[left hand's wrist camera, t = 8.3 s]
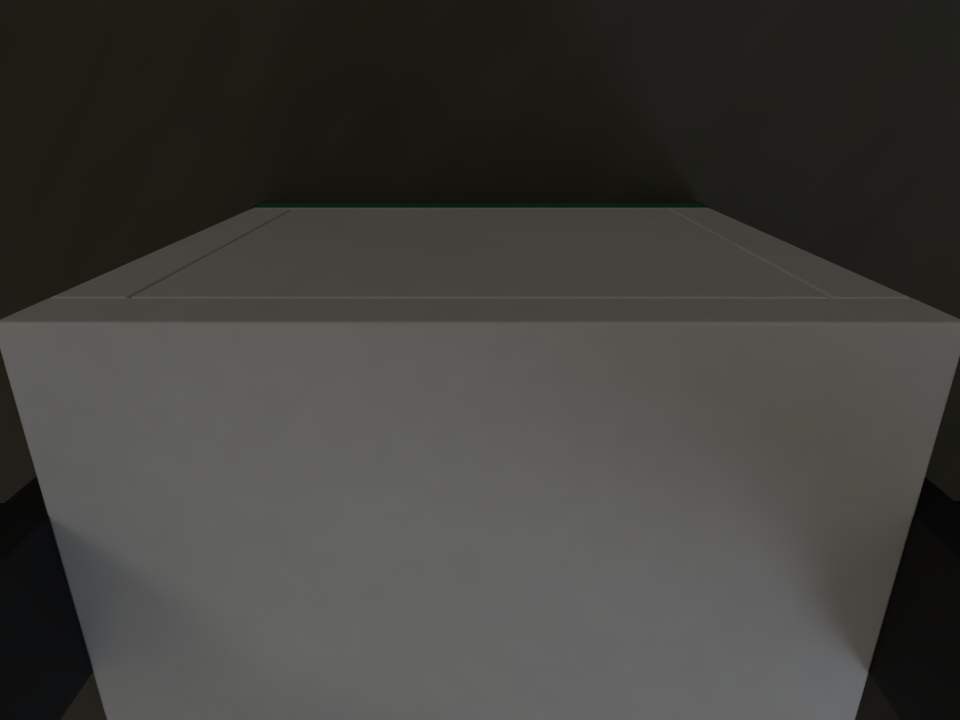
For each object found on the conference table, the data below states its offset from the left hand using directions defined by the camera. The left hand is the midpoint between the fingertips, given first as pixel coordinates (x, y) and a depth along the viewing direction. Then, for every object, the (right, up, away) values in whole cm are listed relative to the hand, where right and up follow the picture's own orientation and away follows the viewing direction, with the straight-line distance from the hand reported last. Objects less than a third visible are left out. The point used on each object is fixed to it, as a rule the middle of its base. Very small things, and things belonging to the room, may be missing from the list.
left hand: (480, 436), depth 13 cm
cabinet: (0, -3, +7) cm, 8 cm away
